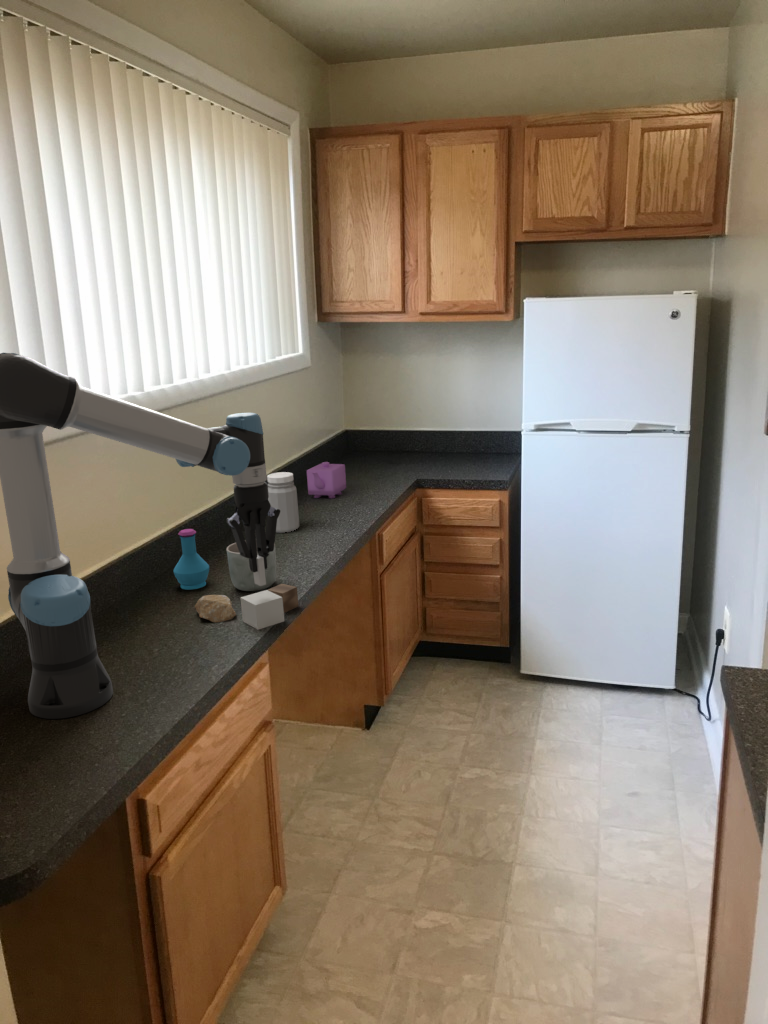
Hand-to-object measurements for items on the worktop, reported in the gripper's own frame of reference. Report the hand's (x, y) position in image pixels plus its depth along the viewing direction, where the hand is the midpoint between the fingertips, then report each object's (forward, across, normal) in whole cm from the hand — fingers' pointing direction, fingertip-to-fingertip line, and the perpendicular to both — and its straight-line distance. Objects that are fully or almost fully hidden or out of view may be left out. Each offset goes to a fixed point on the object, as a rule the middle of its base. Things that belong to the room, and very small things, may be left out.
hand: (260, 583), depth 192 cm
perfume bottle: (+9, 0, +36) cm, 37 cm away
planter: (+9, +11, +23) cm, 27 cm away
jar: (+9, +46, +64) cm, 79 cm away
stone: (+10, -6, +12) cm, 16 cm away
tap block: (+9, 0, 0) cm, 9 cm away
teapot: (+10, +81, +91) cm, 122 cm away
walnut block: (+9, +8, +4) cm, 13 cm away
